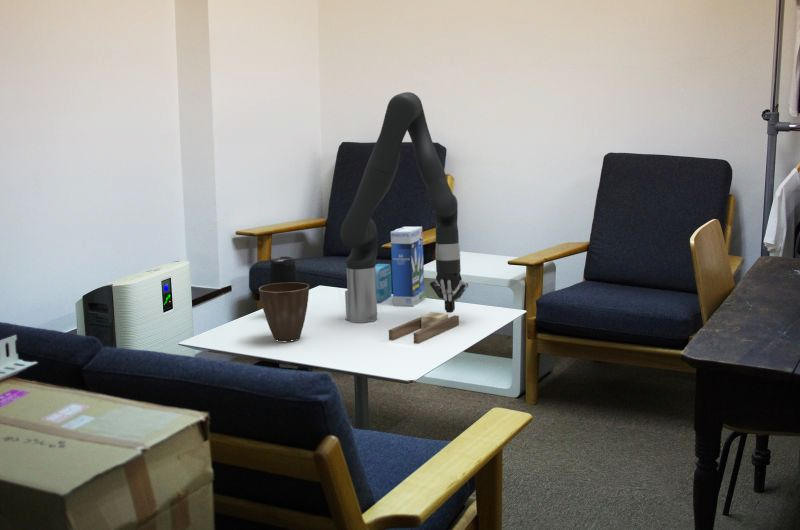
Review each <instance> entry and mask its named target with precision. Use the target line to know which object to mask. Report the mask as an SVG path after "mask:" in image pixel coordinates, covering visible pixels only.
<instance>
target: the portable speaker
mask: <svg viewBox="0 0 800 530" xmlns="http://www.w3.org/2000/svg"><path fill="white" fill-rule="evenodd" d="M269 263H270V264H269V271H268V282H269V284H275V283H287V282H296V283H299V281H298V280H299V279H298V278H299V277H298V272H297V267H296V262H295V259H294V258H293V257H291V256H286V255H285V256H279V257H277V258H270V260H269ZM269 284H268V285H269Z"/></svg>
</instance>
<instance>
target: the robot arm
mask: <svg viewBox="0 0 800 530" xmlns="http://www.w3.org/2000/svg"><path fill="white" fill-rule="evenodd" d="M406 133H408V135H409V137H410V140H411V143H412V147H413V152H414V159H415V162H416V165H417V168H418V171H419V174H420V176H421V178H422V181H423V183H424V185H425V186H426V189H427V192H428V195H429V198H430V201H431V203H432V204H431V205H432V207H433V209H434V211H435V221H436V225H435V266H436V267H435V271H436V276H435V280H433V281H431V282H430V283H429V286H430V287H431V289H432V290H433V292H435V294H436V295H437V298H439V299H442V300H443V301H444V311H445V312H446V314H449V313H450V314H451V313H454V312H455V310H456V307H455V305H456V303H455V302H456V300H458V299H460V298H461V297H462V296H463V294H464V293H465V291H466V290H467V288H468V287H469V284H468V282H467V283H465V282H464V281H463V278H462V276H461V269H462V268H461V251H460V250H461V249H460V243H459V242H460V240H459V239H460V238H459V229H458V228H459V227H458V216H459V215H458V209H459V207H458V204H459V203H458V199H457V197H456V195H454V194H453V191H452V189H451V187H450V184H449V183H448V178H447V174H446V172H445V169H444V166H443V164H442V162H441V160H440V157H439V155H438V153H437V150H436V147H435V146H434V142H433V139H432V137H431V133H430V131H429V127H428V122H427V120H426V115H425V111H424V107H423V104H422V101H421V99H420V97H419V96H418V95H417V94H415V93H414V92H411V91H407V92H401V93H398V94H396V95H394V96H393V97H392V98H391V99H389V102H388V104H387V107H386V110H385V114H384V119H383V121H382V125H381V129H380V133H379V135H378V137H377V140H376V142H375V145H374V147H373V149H372V151H371V154H370V157H369V159H368V161H367V164H366V165H365V166H366V167H365V169H364V171H363V176H362V178H361V181H360V184H359V186H358V188H357V192H356V195H355V197H354V200H353V203H352V205H351V207H350V209H349V210H348V213H347V215H346V217H345V219H344V220H343V223H342V225H341V227H340V238H341V242H342V244H344V245H345V247H348V248H351V252H350V254H349V255H348V257H347V258H346V259H345V260H346V261H345V262H346V263H345V265H346V285H347V290H345V291H344V297H345V298H344V299H345V316H346V317H345V320H346V321H349V322H352V323H369V322H370V323H371V322H374V321H376V320H378V302H377V295H376V272H375V265H376V261H377V257H378V229H377V226H376V223H375V221H374V219H372V216H373V213H374V211H375V210H376V208H377V207H378V205H379V204H380V203H381V202H382V200H383V199H384V197H385V196H386V194H387V193H388V192H389V190H390V188H391V187H392V183H393V181H394V178H395V177H396V173H397V171H398V168H399V163H400V157H401V147H402V144H403V140H404V138H405V136H406ZM457 288H458V289H457Z"/></svg>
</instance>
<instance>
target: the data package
mask: <svg viewBox="0 0 800 530" xmlns="http://www.w3.org/2000/svg"><path fill="white" fill-rule="evenodd" d="M375 272H376V295H377V303H382V302H384V301H386V300H388V299H389V298H391V297H392V296H393V282H392V265H391V264H390V263H377V264H375Z"/></svg>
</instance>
